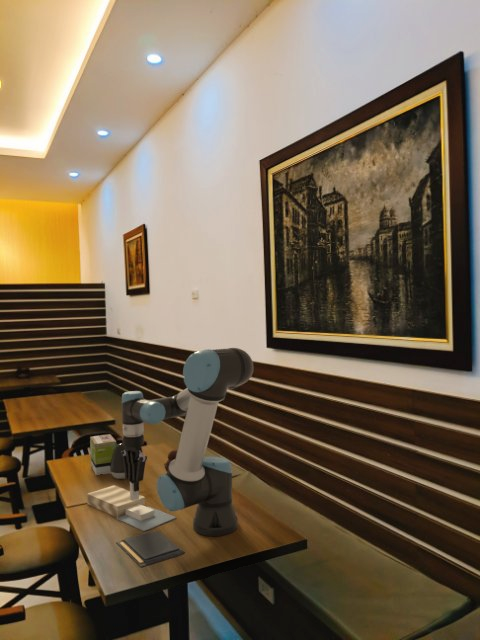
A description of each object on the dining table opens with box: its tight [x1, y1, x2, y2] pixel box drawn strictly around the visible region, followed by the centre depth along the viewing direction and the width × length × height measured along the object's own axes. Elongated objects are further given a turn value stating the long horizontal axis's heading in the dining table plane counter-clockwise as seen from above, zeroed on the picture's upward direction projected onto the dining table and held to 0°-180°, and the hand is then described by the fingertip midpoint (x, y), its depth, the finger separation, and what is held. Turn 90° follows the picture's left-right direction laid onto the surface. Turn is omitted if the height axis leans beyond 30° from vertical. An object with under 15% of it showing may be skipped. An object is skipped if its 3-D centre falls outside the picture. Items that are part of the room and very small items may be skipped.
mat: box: [115, 506, 177, 533], centre depth 178 cm, size 16×14×1 cm
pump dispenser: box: [110, 442, 126, 480], centre depth 223 cm, size 10×10×15 cm
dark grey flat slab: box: [115, 530, 186, 569], centre depth 156 cm, size 20×2×15 cm
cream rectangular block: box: [125, 504, 154, 521], centre depth 181 cm, size 9×6×2 cm, turn 48°
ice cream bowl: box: [163, 449, 178, 472], centre depth 211 cm, size 11×11×15 cm
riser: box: [86, 485, 146, 518], centre depth 191 cm, size 20×12×4 cm, turn 48°
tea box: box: [89, 433, 118, 476], centre depth 235 cm, size 15×10×15 cm
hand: (134, 499), depth 183 cm, fingers closed
